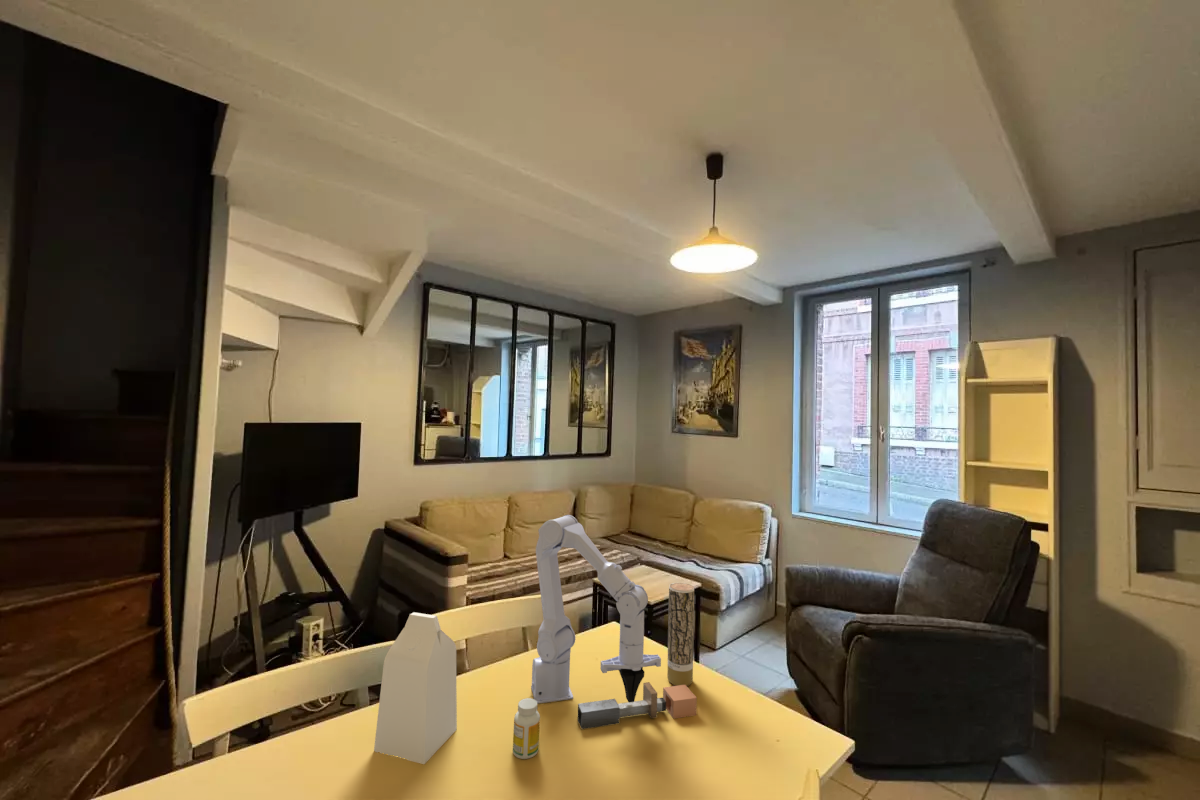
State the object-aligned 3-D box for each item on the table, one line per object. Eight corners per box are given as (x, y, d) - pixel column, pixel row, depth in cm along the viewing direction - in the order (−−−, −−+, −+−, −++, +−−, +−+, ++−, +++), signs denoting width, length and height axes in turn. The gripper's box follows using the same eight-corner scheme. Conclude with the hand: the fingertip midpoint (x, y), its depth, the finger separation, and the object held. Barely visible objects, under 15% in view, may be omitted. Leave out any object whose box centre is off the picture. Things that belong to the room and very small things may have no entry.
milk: (456, 729, 105) (462, 609, 107) (424, 764, 94) (431, 629, 96) (410, 719, 108) (416, 602, 110) (373, 751, 97) (381, 621, 99)
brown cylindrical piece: (685, 690, 124) (687, 592, 125) (662, 681, 128) (664, 586, 129) (697, 680, 129) (698, 586, 131) (674, 672, 133) (676, 581, 135)
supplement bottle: (511, 760, 96) (513, 711, 96) (513, 743, 101) (515, 696, 102) (538, 759, 96) (540, 710, 97) (539, 742, 102) (540, 695, 102)
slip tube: (590, 727, 106) (591, 702, 107) (585, 714, 111) (585, 690, 111) (668, 715, 112) (669, 691, 112) (660, 703, 116) (660, 680, 117)
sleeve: (581, 729, 106) (581, 712, 107) (577, 719, 110) (578, 703, 110) (619, 723, 109) (619, 707, 109) (614, 714, 112) (614, 698, 113)
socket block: (673, 718, 111) (673, 700, 112) (662, 704, 117) (663, 687, 117) (696, 715, 113) (696, 697, 113) (684, 701, 119) (685, 684, 119)
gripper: (607, 651, 107) (605, 713, 106) (666, 644, 111) (665, 705, 110) (598, 637, 114) (597, 696, 113) (654, 632, 118) (653, 688, 117)
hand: (630, 699), depth 112 cm, fingers closed
